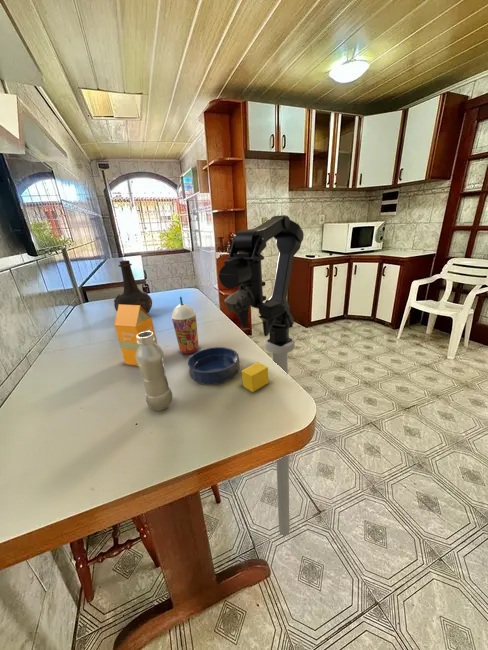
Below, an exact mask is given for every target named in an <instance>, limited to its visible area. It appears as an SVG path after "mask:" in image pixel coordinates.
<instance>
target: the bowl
mask: <svg viewBox="0 0 488 650" xmlns="http://www.w3.org/2000/svg"><path fill="white" fill-rule="evenodd" d="M187 368H188V374H189V376H190V379H191V380H192V381H194V382H195V383H197V384H201V385H218V384H222V383H226V382H228V381H230V380H232V379H234V378H235V377H236V376H237V375H238V374H239V373H240V370H241V366H240V356H239V353H238V352H237V351H236V350H234V349H233V348H229V347H223V346H213V347H208V348H204V349H201V350H199V351H195V352H194V353H193V354H191V356H190V357H189V358H188V360H187Z"/></svg>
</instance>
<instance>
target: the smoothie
mask: <svg viewBox="0 0 488 650" xmlns="http://www.w3.org/2000/svg"><path fill="white" fill-rule="evenodd" d="M179 302H180V304H178V305H177V306H175V307H174V308H173V310H172V314H171V316H170V318H171V320H172V324H173V328H174V333H175V336H176V340H177V344H178V348H179V350H180V351H181V352H182V354H192V353H193V354H194V353H196V352H197V351H198V347H199V335H198V323H197V312H196V311H195V310H194V308H193V307H192V306H191V305H189V304H185V303H183V297H182V296H179Z"/></svg>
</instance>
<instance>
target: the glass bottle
mask: <svg viewBox="0 0 488 650" xmlns="http://www.w3.org/2000/svg"><path fill="white" fill-rule="evenodd" d="M118 263H119V265H118V267H120V271H121V275H122V283H123V291H122V293H119V294H117V295H116V297H115V298H114V299H113V304H114V305H113V306H114V309H115V311H116V312H117V311H118V306H119V304H122V305H140V306H141V307H142V308H143V309H144V310H145V312H146V313H147V314H148V313H150V311H151V310H152V307H153V299H152V297H151V296H150V294H148V293H147V292H145V291H142V290H140V288H139V287H138V284H137V281H136V279H135V277H134V274H133V270H132V266H133V263H130V260H119V262H118Z"/></svg>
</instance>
